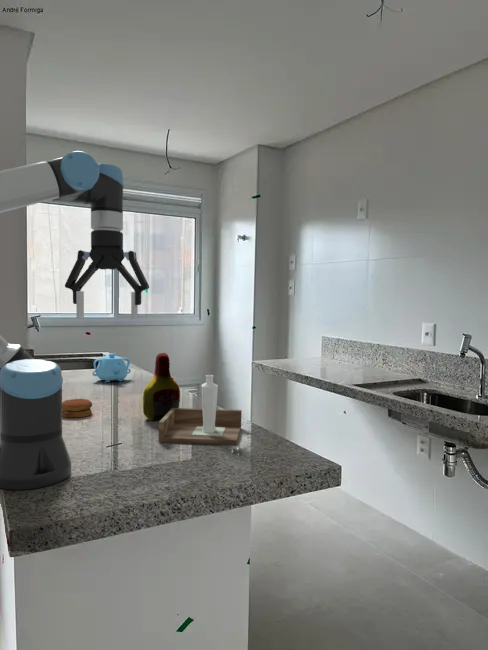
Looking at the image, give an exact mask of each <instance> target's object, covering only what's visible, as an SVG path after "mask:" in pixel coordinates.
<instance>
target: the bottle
mask: <svg viewBox="0 0 488 650" xmlns="http://www.w3.org/2000/svg"><path fill="white" fill-rule="evenodd" d="M154 363H155V364H154V373H153V377H152V378H151V379H150V380H149V382H148V383H147V384H146V385H145V387H144V389H143V391H142V401H141V404H142V413H143V415H144V416H145V417H146V419H147V420H150V421H157V420H161V419H162V418H163V417H164V416H165V415H166V414H167V413H168V412H169V411H170V410H171V409H172V408H180V401H181V400H180V399H181V391H180V386H179V384H178V383H177V382H176V381H175V380H174V379H173V378H172V375H171V371H170V370H171V369H170V364H171V363H170V356H169V355H168V354H167V353H166V352H160V353H158V354H157V355H156V357H155V361H154Z"/></svg>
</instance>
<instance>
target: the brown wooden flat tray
mask: <svg viewBox="0 0 488 650" xmlns="http://www.w3.org/2000/svg"><path fill="white" fill-rule="evenodd" d="M215 427H216V431H215V432H213V433H204V432H203V431H202V428H203V410H202V408H192V407H191V408H189V407H188V408H186V407H185V408H183V407H179V408H172V409H171V410H170V411H169V412H168V413H167V414H166V415H165V416H164V417H163V418H162V419H159V421H158V443H167V444H168V443H171V444H173V443H174V444H194V445H195V444H199V445H221V446H222V445H224V446H225V445H226V446H237V444H238V441H239V438H240V433H241V431H242V409H224V408H223V409H222V408H221V409H218V408H216V417H215Z"/></svg>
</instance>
